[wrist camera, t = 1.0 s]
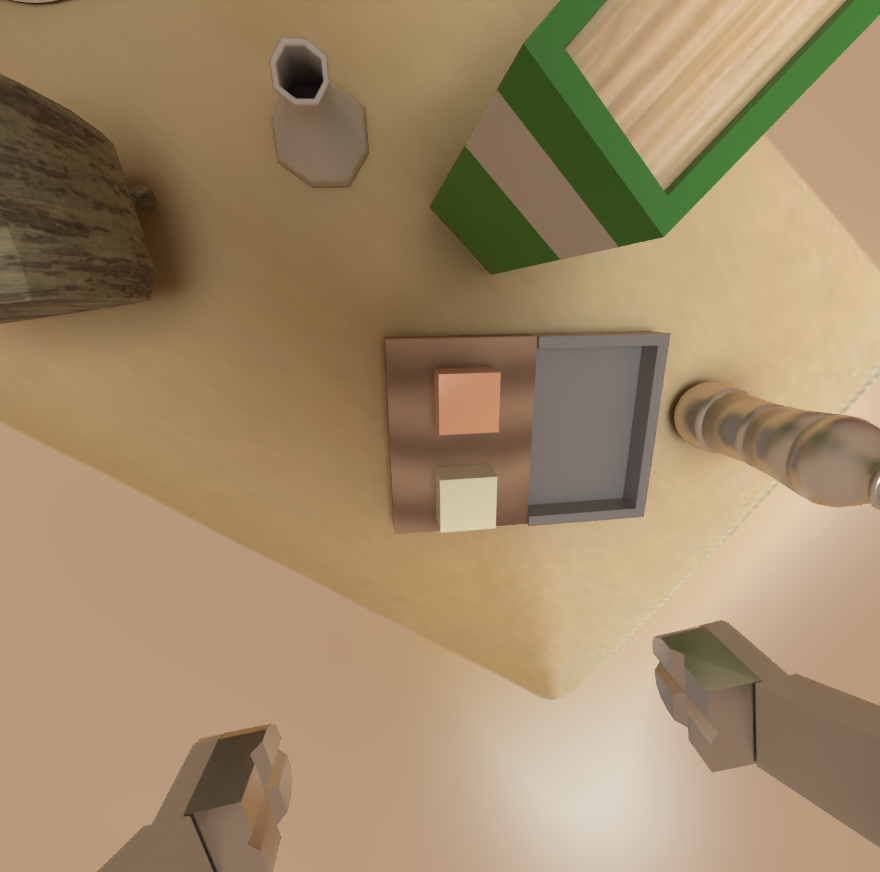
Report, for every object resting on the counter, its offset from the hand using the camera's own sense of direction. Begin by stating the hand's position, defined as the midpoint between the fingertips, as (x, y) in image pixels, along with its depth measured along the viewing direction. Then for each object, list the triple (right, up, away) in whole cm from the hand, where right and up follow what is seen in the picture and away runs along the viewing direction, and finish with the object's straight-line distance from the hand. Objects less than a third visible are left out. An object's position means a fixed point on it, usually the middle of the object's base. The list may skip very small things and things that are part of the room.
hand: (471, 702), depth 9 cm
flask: (-10, +28, +24) cm, 38 cm away
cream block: (+1, +1, +32) cm, 32 cm away
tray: (+13, +7, +34) cm, 37 cm away
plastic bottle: (+25, +8, +35) cm, 44 cm away
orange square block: (+1, +9, +29) cm, 30 cm away
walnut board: (+1, +6, +32) cm, 33 cm away
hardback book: (+7, +28, +27) cm, 39 cm away
